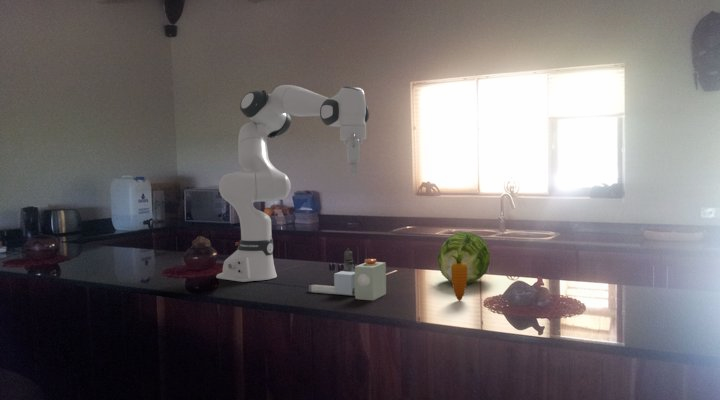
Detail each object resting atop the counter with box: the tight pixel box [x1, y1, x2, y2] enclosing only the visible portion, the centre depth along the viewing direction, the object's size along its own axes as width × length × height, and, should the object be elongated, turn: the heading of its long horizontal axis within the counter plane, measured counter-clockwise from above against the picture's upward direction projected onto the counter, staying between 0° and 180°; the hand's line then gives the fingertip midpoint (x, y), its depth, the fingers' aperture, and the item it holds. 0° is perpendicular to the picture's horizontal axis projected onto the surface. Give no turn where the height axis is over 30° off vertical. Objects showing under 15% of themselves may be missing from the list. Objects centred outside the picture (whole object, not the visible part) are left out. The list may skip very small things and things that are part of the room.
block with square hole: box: [354, 261, 387, 301], centre depth 184 cm, size 6×10×10 cm, turn 155°
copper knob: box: [364, 258, 377, 266], centre depth 184 cm, size 4×4×6 cm
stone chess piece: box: [342, 247, 355, 272], centre depth 209 cm, size 6×6×12 cm
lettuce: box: [437, 231, 491, 285], centre depth 203 cm, size 17×23×17 cm
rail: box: [308, 284, 355, 297], centre depth 190 cm, size 18×2×2 cm, turn 65°
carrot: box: [451, 250, 467, 302], centre depth 177 cm, size 5×5×15 cm
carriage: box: [333, 270, 355, 296], centre depth 188 cm, size 6×5×6 cm
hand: (353, 176), depth 201 cm, fingers closed
